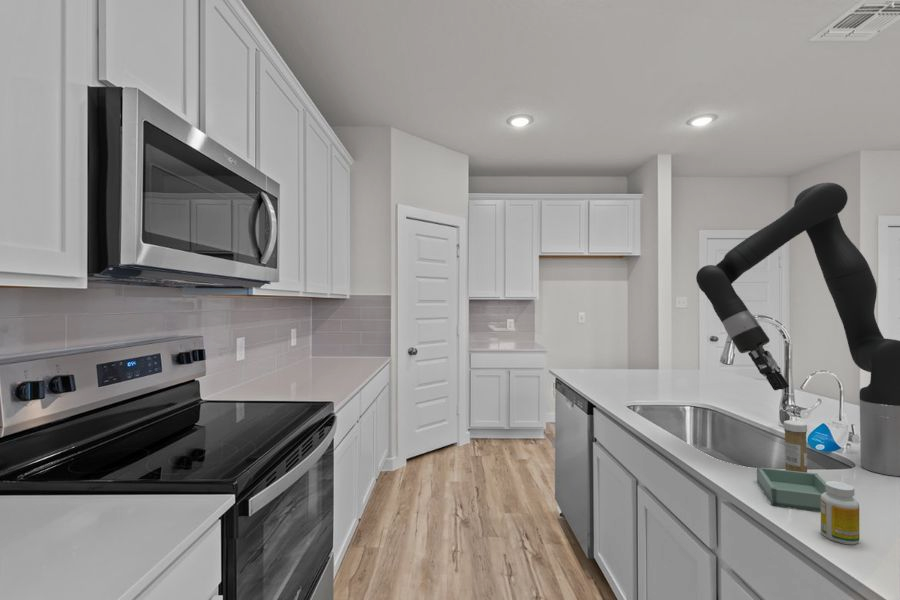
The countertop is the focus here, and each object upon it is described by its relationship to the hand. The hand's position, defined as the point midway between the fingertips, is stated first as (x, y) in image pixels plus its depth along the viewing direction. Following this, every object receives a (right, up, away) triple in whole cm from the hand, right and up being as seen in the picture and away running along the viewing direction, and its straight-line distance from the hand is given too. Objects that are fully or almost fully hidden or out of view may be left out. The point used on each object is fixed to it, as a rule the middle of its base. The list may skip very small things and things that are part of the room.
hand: (782, 388), depth 113 cm
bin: (-7, -21, -14) cm, 26 cm away
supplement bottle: (-12, -21, -31) cm, 39 cm away
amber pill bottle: (+1, -21, -3) cm, 21 cm away
